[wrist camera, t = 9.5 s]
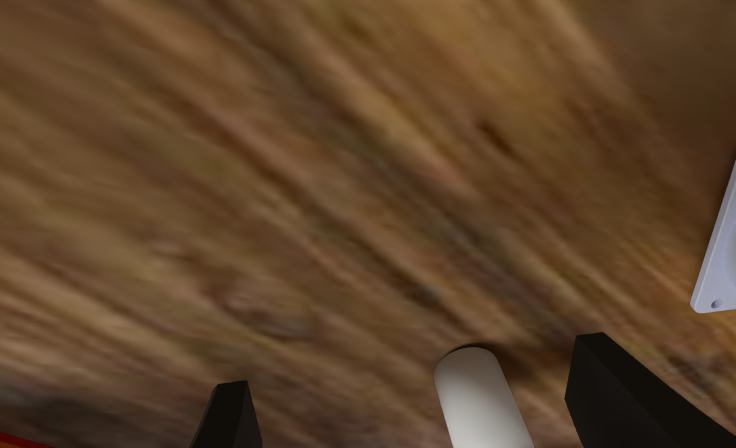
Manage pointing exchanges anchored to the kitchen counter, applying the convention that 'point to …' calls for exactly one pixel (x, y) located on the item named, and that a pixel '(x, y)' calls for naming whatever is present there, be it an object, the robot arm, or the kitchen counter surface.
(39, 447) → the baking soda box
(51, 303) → the kitchen counter surface
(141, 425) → the kitchen counter surface
